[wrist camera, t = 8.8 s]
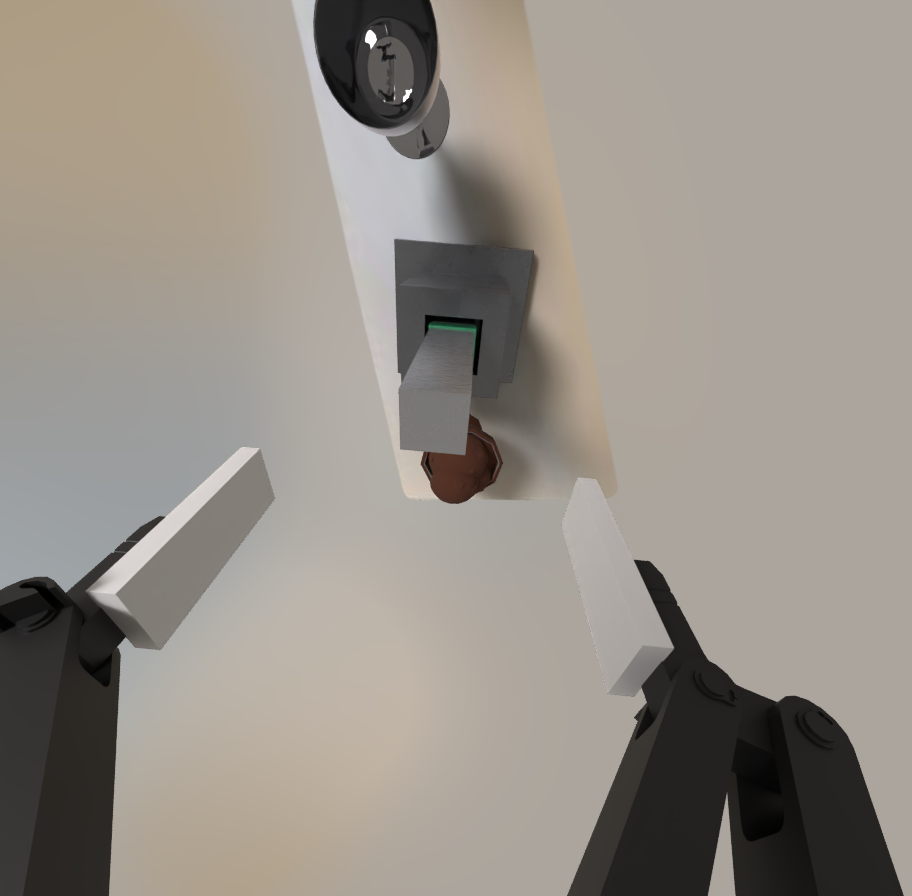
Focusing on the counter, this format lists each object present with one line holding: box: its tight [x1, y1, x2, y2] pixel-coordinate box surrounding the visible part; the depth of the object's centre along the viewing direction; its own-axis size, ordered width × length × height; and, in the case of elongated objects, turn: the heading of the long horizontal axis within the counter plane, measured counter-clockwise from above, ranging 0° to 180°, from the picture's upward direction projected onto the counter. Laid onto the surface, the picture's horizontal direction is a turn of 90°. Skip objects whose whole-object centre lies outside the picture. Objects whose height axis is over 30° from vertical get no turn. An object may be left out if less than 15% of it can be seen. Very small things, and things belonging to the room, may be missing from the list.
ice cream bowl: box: [421, 414, 503, 504], centre depth 47 cm, size 11×11×15 cm
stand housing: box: [394, 239, 534, 398], centre depth 38 cm, size 16×16×15 cm
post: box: [399, 316, 477, 455], centre depth 29 cm, size 4×4×21 cm
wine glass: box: [313, 0, 449, 159], centre depth 28 cm, size 8×8×15 cm
